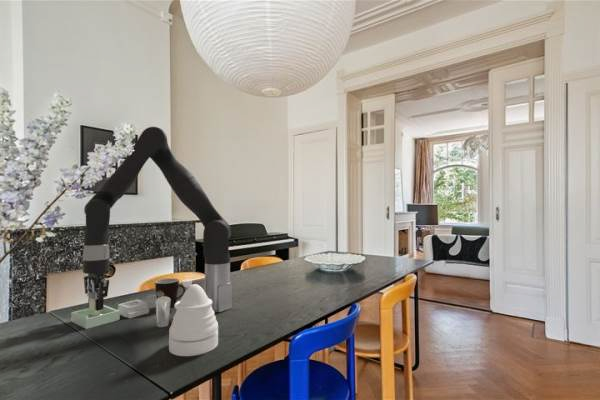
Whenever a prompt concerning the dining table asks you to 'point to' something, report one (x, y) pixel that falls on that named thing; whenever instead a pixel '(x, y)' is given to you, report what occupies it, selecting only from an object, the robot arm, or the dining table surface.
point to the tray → (85, 322)
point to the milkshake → (162, 311)
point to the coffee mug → (168, 289)
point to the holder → (133, 308)
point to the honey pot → (193, 323)
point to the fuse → (93, 306)
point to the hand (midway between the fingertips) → (95, 308)
